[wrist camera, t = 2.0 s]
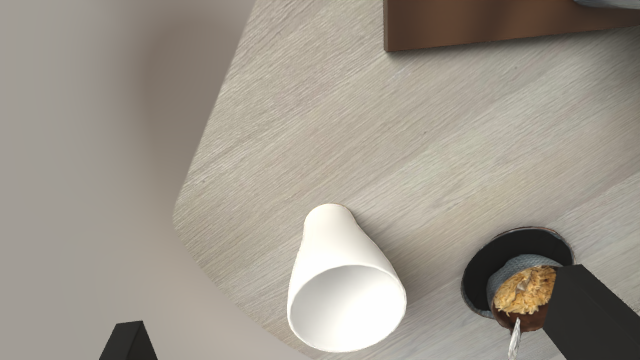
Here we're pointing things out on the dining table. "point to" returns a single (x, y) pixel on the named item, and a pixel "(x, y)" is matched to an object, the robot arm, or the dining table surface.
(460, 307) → the dining table surface
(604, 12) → the walnut board
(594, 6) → the slate cup
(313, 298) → the cup
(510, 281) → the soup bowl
